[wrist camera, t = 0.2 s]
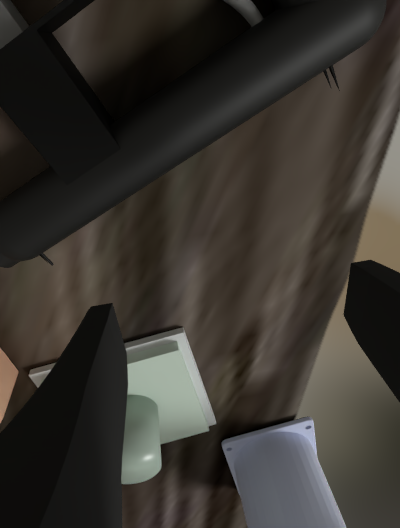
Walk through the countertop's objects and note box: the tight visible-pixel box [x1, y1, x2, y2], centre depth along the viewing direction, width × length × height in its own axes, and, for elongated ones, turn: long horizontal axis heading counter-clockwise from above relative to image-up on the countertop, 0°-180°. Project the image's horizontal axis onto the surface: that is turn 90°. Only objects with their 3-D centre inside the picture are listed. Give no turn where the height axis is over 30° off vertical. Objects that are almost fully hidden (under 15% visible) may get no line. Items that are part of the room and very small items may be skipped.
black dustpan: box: [0, 0, 386, 268], centre depth 14 cm, size 3×20×16 cm
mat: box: [29, 327, 216, 426], centre depth 27 cm, size 10×10×1 cm
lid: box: [40, 341, 209, 484], centre depth 25 cm, size 9×9×5 cm
